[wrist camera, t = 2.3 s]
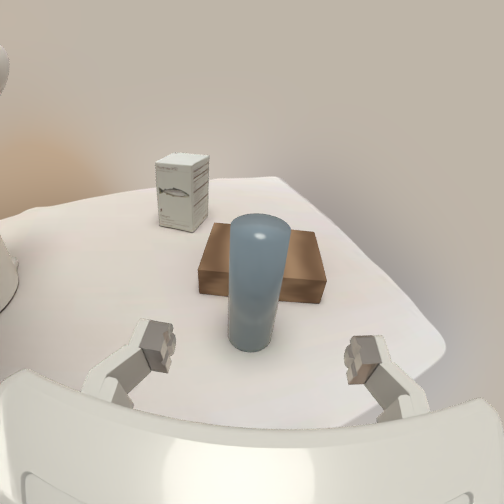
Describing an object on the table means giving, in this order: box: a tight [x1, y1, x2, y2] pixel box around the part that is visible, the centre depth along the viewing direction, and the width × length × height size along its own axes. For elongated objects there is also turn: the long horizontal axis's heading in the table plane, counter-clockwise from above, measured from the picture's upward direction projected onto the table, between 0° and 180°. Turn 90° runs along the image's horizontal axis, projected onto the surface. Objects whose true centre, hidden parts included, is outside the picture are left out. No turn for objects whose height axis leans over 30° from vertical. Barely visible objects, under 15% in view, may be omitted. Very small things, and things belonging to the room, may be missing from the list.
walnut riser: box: [198, 223, 327, 303], centre depth 39 cm, size 16×12×4 cm
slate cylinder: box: [228, 214, 291, 352], centre depth 26 cm, size 5×5×14 cm
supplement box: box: [155, 152, 209, 232], centre depth 47 cm, size 7×7×13 cm
